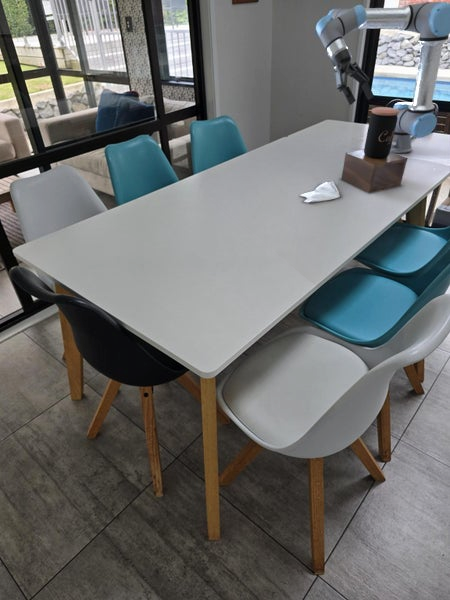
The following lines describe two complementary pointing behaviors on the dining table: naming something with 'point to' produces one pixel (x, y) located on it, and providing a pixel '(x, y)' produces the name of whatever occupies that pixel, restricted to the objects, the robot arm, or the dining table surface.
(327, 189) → the cloth
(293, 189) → the dining table surface
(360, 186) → the dark wooden box
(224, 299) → the dining table surface
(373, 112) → the coffee jar
